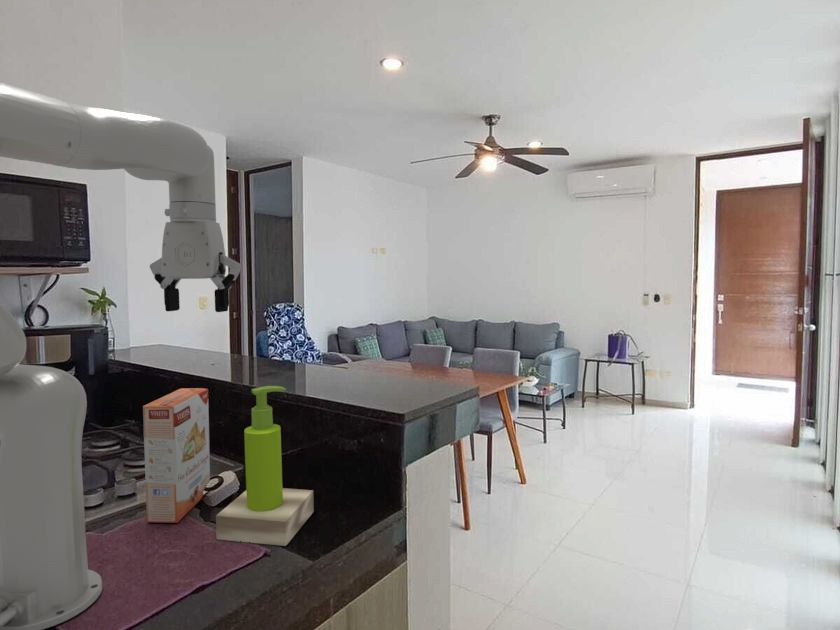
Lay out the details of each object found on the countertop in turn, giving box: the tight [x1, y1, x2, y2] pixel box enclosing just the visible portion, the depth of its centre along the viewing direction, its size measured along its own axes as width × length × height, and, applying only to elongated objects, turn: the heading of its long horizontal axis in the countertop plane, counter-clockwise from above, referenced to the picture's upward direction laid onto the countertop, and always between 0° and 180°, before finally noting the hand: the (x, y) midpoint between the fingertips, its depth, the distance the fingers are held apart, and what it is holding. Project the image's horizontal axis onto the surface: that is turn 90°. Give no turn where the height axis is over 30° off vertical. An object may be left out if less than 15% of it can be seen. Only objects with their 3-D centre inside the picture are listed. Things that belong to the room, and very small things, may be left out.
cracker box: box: [142, 387, 211, 524], centre depth 97 cm, size 14×6×21 cm, turn 179°
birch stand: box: [215, 487, 315, 547], centre depth 91 cm, size 12×12×4 cm
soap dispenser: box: [243, 385, 287, 511], centre depth 90 cm, size 6×7×20 cm
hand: (197, 311), depth 95 cm, fingers open, 9 cm apart
